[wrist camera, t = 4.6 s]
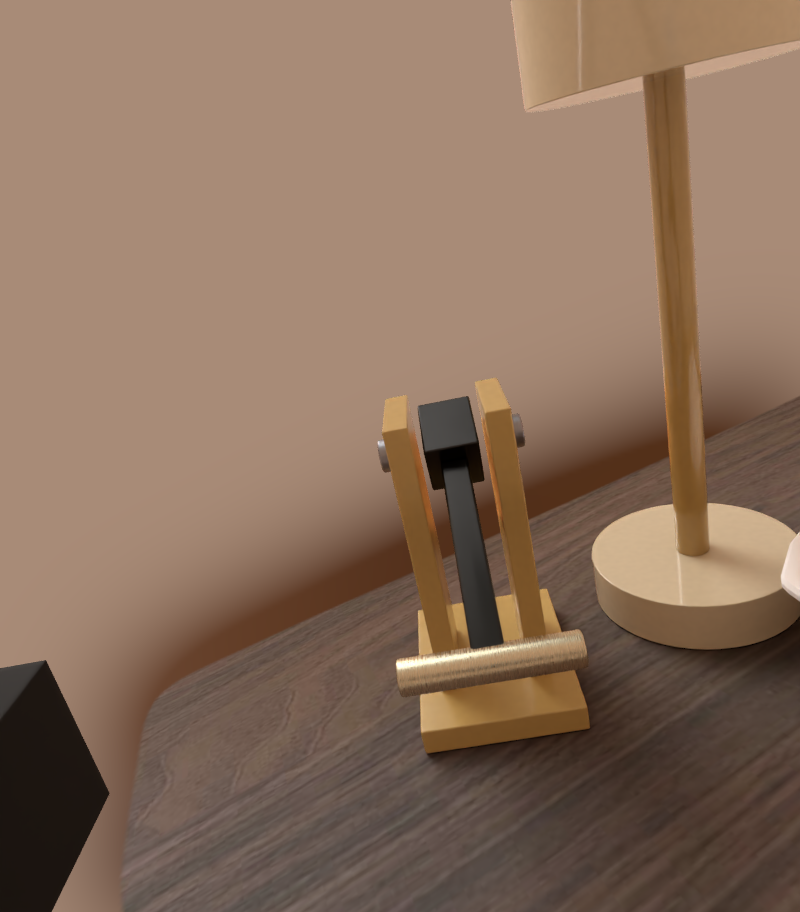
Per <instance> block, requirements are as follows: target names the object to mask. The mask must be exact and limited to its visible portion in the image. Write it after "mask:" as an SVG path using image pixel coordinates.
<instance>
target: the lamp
mask: <svg viewBox="0 0 800 912" xmlns="http://www.w3.org/2000/svg"><path fill="white" fill-rule="evenodd" d="M510 1H511V8H512V17H513V24H514V32H515V40H516V48H517V56H518V63H519V71H520V79H521V86H522V95H523V102H524V110H525V112H539V111H545V110H551V109H557V108H563V107H568V106H572V105H578V104H583V103H588V102H592V101H597V100H602V99H606V98H611V97H615V96H620V95H624V94H628V93H633V92H637V91H641V90H643V96H644V109H645V124H646V138H647V153H648V166H649V180H650V193H651V208H652V222H653V235H654V250H655V264H656V276H657V290H658V291H657V292H658V305H659V319H660V333H661V346H662V360H663V375H664V388H665V403H666V417H667V431H668V444H669V459H670V472H671V486H672V500H673V504H669V505H662V506H657V507H652V508H648V509H644V510H641V511H637V512H635V513H632V514H629V515H627V516H625V517H623V518H620V519H619V520H617V521H615V522H613V523H612V524H610V525H609V526H608V527H606V528H605V529H604V530H603V531H602V532H601V533H600V534H599V536H598V537H597V538H596V540H595V542H594V545H593V547H592V563H593V571H594V579H595V587H596V595H597V599H598V602H599V604H600V606H601V608H602V609H603V611H604V612H605V613H606V614H607V616H608V617H609V618H610V619H611V620H613V621H614V622H615V623H616V624H617V625H619V626H620V627H622V628H623V629H625V630H627V631H629V632H631V633H633V634H635V635H637V636H639V637H642V638H644V639H647V640H650V641H653V642H656V643H660V644H664V645H669V646H674V647H680V648H689V649H706V650H708V649H726V648H735V647H741V646H746V645H751V644H754V643H757V642H761V641H764V640H766V639H769V638H771V637H773V636H776V635H777V634H779V633H781V632H782V631H784V630H786V629H787V628H788V627H790V626H791V625H792V624H793V623H794V622H795V621H796V620H797V619H798V618H799V616H800V601H798V600H797V599H795V598H794V597H793V596H791V595H790V594H788V593H787V592H786V590H785V589H784V588H783V587H782V583H781V574H782V570H783V566H784V563H785V559H786V556H787V552H788V548H789V545H790V543H791V542H792V540H793V539H794V538H795V537H796V536H797V535H796V533H795V532H794V531H793V530H791V529H790V528H789V527H787V526H786V525H785V524H783V523H781V522H780V521H778V520H776V519H774V518H772V517H770V516H767V515H765V514H762V513H759V512H757V511H753V510H749V509H746V508H741V507H736V506H731V505H724V504H714V503H708V500H707V481H706V461H705V442H704V423H703V405H702V385H701V366H700V345H699V326H698V308H697V289H696V288H697V287H696V268H695V248H694V231H693V230H694V229H693V210H692V193H691V192H692V190H691V172H690V152H689V132H688V114H687V94H686V80H687V79H691V78H695V77H699V76H703V75H707V74H710V73H714V72H718V71H722V70H726V69H729V68H734V67H737V66H741V65H744V64H748V63H752V62H756V61H759V60H763V59H766V58H770V57H773V56H776V55H780V54H783V53H787V52H790V51H794V50H797V49H799V48H800V0H510Z"/></svg>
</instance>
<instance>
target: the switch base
mask: <svg viewBox="0 0 800 912" xmlns="http://www.w3.org/2000/svg"><path fill="white" fill-rule="evenodd" d="M475 387H476V393H477V399H478V404H479V410H480V416H481V421H482V428H483V433H484V439H485V444H486V451H487V456H488V462H489V468H490V474H491V479H492V485H493V491H494V496H495V502H496V508H497V513H498V519H499V525H500V531H501V537H502V542H503V548H504V554H505V560H506V565H507V571H508V577H509V583H510V588H511V594H512V595H506V596H500V597H495V599H496V604H497V609H498V614H499V619H500V624H501V629H502V634H503V639H504V641H510V640H516V639H522V638H529V637H535V636H541V635H547V634H553V633H559V632H562V631H561V628H560V625H559V622H558V619H557V616H556V613H555V610H554V607H553V605H552V602H551V599H550V596H549V593H548V590H547V589H541V590H539V585H538V578H537V572H536V565H535V559H534V553H533V546H532V540H531V534H530V527H529V521H528V514H527V509H526V502H525V495H524V489H523V483H522V476H521V470H520V463H519V457H518V451H517V448H518V447H523V446H525V436H524V430H523V425H522V421H521V417H520V415H519V414H518V413H517V414H512V413H511V408H510V406H509V403H508V401H507V399H506V397H505V395H504V392H503V390H502V388H501V386H500V384H499V381H498V379H497V378H492V379H487V380H481V381H476V382H475ZM382 429H383V430H382V435H383V439H382V440H378V452H379V458H380V463H381V466H382V469H383V471H384V472H391V474H392V479H393V483H394V487H395V492H396V496H397V500H398V505H399V509H400V513H401V517H402V522H403V526H404V531H405V535H406V539H407V544H408V548H409V552H410V556H411V561H412V565H413V569H414V574H415V578H416V583H417V587H418V591H419V596H420V600H421V604H422V609H423V610H419V611H418V637H419V656H420V655H426V654H432V653H438V652H444V651H450V650H456V649H462V648H468V647H470V643H469V637H468V631H467V625H466V618H465V612H464V606H463V603H459V604H453V605H452V604H451V599H450V594H449V590H448V585H447V580H446V576H445V571H444V566H443V561H442V557H441V552H440V547H439V543H438V538H437V533H436V529H435V524H434V520H433V515H432V510H431V505H430V500H429V496H428V491H427V487H426V482H425V477H424V472H423V467H422V463H421V458H420V453H419V448H418V444H417V439H416V434H415V430H414V425H413V421H412V416H411V411H410V406H409V401H408V397H407V395H404V396H399V397H394V398H390V399H386V400H385V408H384V419H383V428H382ZM420 717H421V735H422V739H423V743H424V747H425V751H426V753H434V752H441V751H447V750H454V749H460V748H467V747H474V746H480V745H487V744H493V743H500V742H506V741H513V740H519V739H526V738H532V737H539V736H545V735H552V734H558V733H565V732H571V731H578V730H584V729H589V728H590V721H589V714H588V707H587V704H586V701H585V698H584V695H583V692H582V689H581V686H580V684H579V681H578V678H577V675H576V672H575V670H572V671H565V672H559V673H553V674H547V675H540V676H534V677H528V678H522V679H516V680H509V681H503V682H497V683H491V684H484V685H478V686H472V687H466V688H459V689H453V690H447V691H441V692H435V693H428V694H422V695H420Z"/></svg>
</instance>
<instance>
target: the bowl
mask: <svg viewBox="0 0 800 912" xmlns="http://www.w3.org/2000/svg"><path fill="white" fill-rule="evenodd" d="M781 583H782V587H783V588H784V589H785V590H786V592H787V593H788V594H790V595H791V596H793V597H794V598H795V599H797V600H798V601H800V532H799V533H798V534H797V536H796V537H795V538H794V539H793V540H792V542H791V543H790V545H789V548H788V552H787V556H786V559H785V563H784V566H783V570H782V574H781Z"/></svg>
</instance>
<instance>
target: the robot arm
mask: <svg viewBox="0 0 800 912" xmlns="http://www.w3.org/2000/svg"><path fill="white" fill-rule="evenodd" d="M108 795H109V791H108V789H107V787H106V785H105V783H104V781H103V779H102V777H101V774H100V772H99V770H98V768H97V766H96V764H95V762H94V760H93V758H92V756H91V754H90V751H89V749H88V747H87V745H86V743H85V741H84V739H83V737H82V735H81V733H80V730H79V729H78V726H77V724H76V722H75V720H74V718H73V716H72V714H71V712H70V710H69V707H68V705H67V703H66V701H65V699H64V697H63V695H62V693H61V691H60V689H59V687H58V684H57V682H56V680H55V678H54V676H53V674H52V672H51V670H50V668H49V666H48V664H47V661H46V660H45V661H39V662H33V663H28V664H23V665H16V666H11V667H5V668H0V912H52V910H53V908H54V906H55V903H56V901H57V900H58V897H59V896H60V893H61V891H62V889H63V887H64V885H65V883H66V881H67V879H68V877H69V875H70V873H71V871H72V869H73V867H74V865H75V863H76V861H77V859H78V857H79V855H80V853H81V851H82V848H83V846H84V844H85V842H86V840H87V838H88V836H89V834H90V832H91V830H92V828H93V826H94V824H95V822H96V820H97V818H98V816H99V814H100V811H101V810H102V808H103V805H104V804H105V801H106V799H107V797H108Z"/></svg>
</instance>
